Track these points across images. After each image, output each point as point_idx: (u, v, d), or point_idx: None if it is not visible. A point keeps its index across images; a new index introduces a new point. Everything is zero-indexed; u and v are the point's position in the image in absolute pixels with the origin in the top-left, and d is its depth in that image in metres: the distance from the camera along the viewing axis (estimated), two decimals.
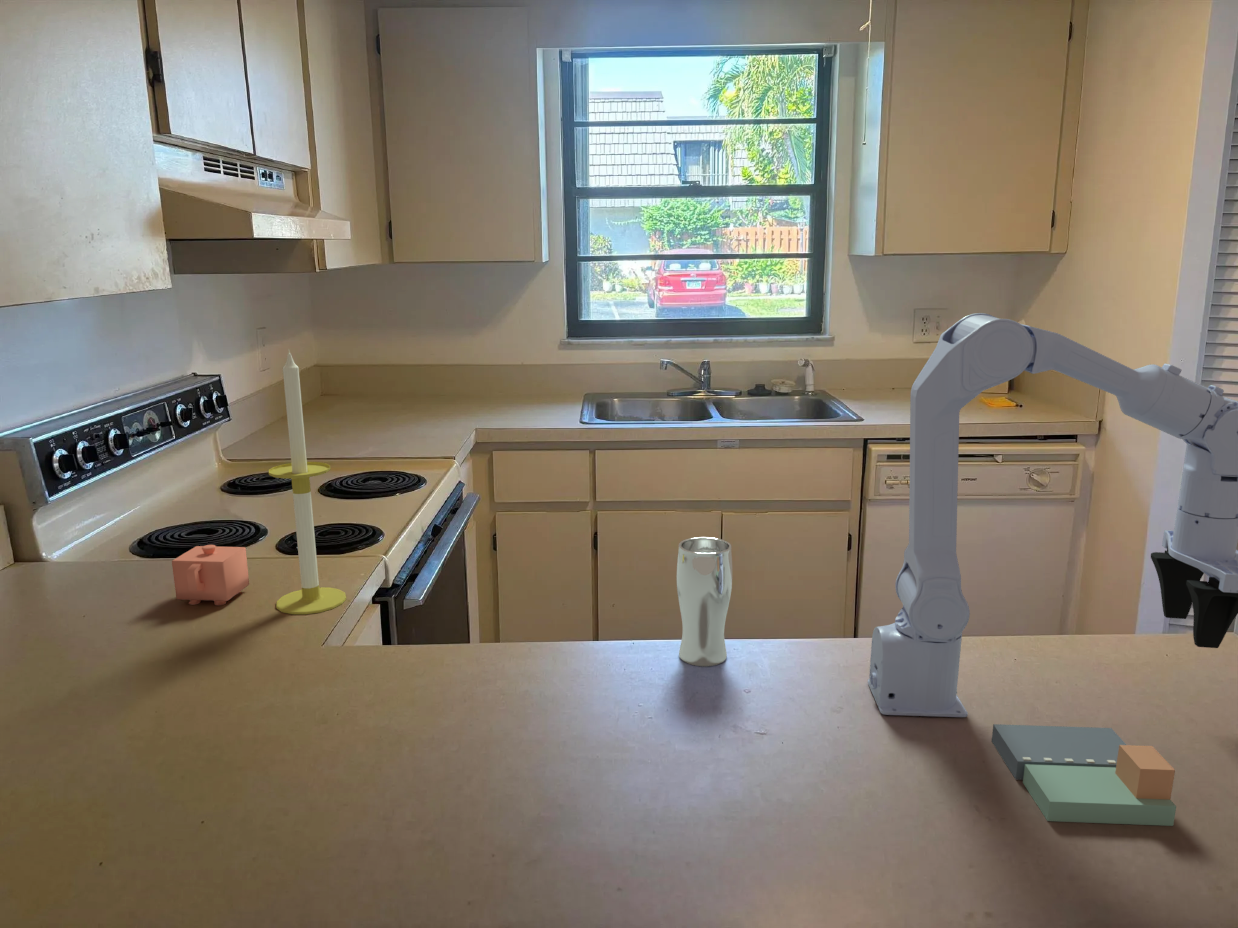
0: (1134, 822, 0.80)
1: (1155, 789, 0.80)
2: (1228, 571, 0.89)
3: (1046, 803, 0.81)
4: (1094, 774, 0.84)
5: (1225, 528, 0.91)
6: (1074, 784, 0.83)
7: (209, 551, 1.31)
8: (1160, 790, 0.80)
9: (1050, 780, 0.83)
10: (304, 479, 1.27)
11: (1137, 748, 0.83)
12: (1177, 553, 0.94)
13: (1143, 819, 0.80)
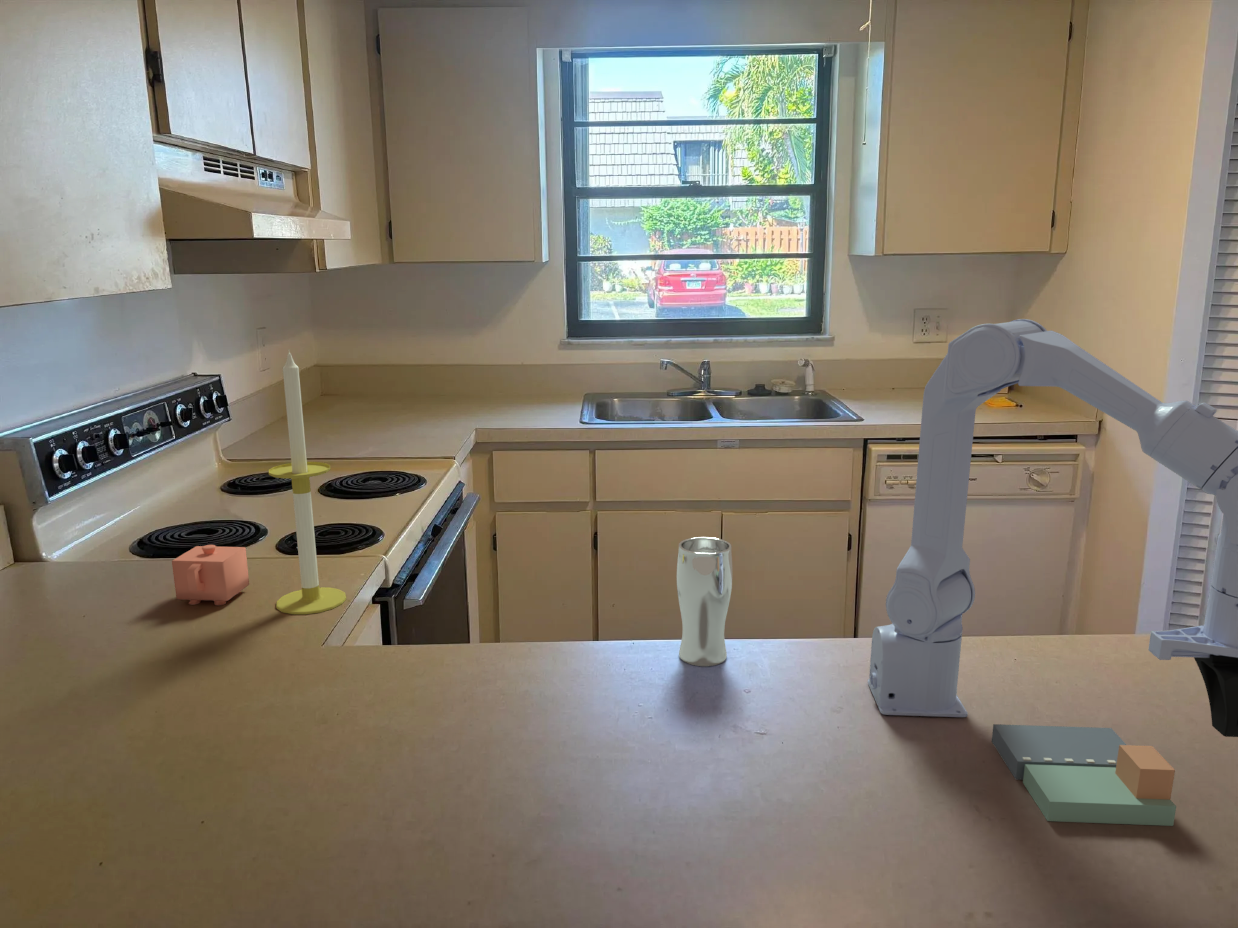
0: (1134, 822, 0.80)
1: (1155, 789, 0.80)
2: (1169, 636, 0.79)
3: (1046, 803, 0.81)
4: (1094, 774, 0.84)
5: (1217, 602, 0.77)
6: (1074, 784, 0.83)
7: (209, 551, 1.31)
8: (1160, 790, 0.80)
9: (1050, 780, 0.83)
10: (304, 479, 1.27)
11: (1137, 748, 0.83)
12: None
13: (1143, 819, 0.80)
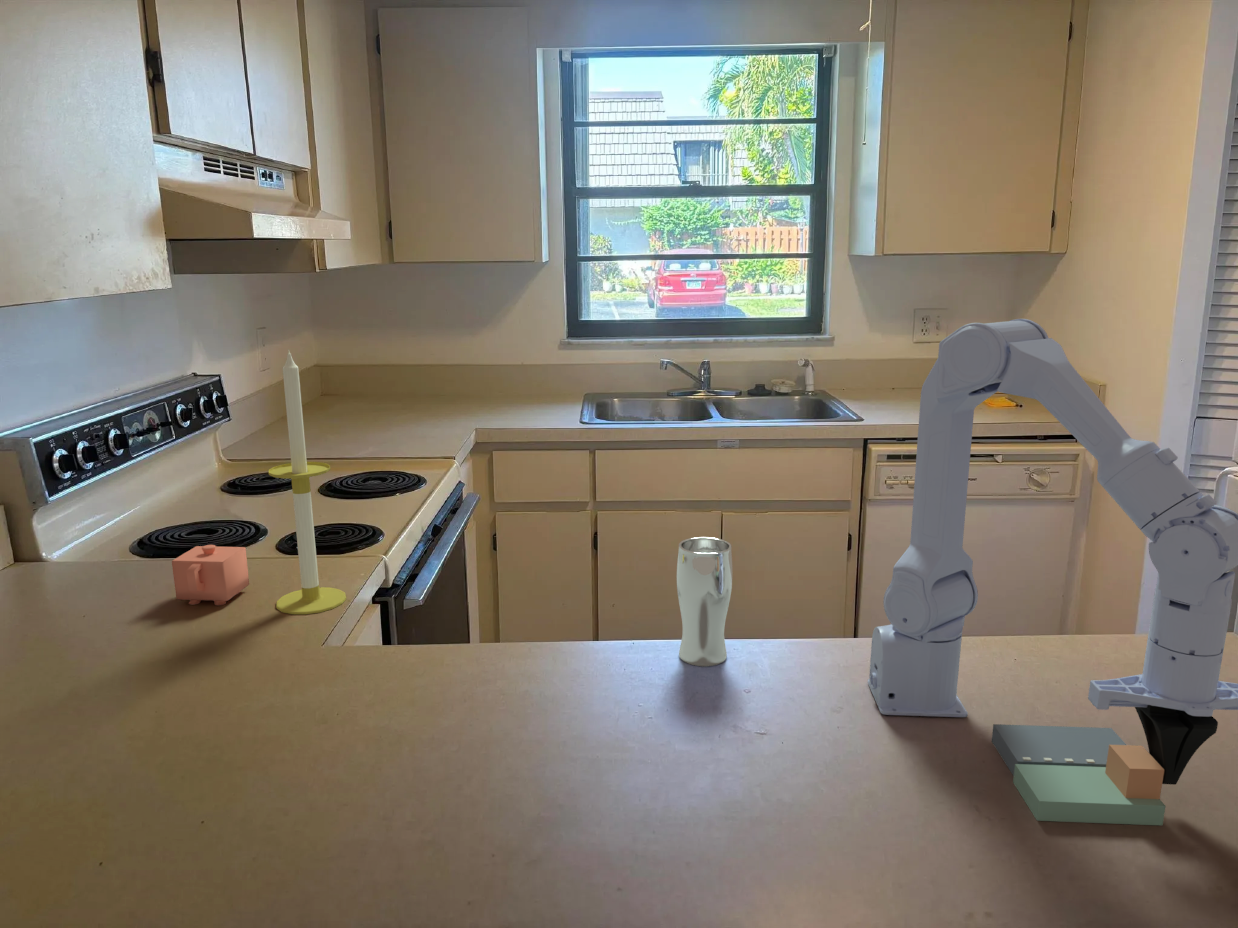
0: (1123, 822, 0.80)
1: (1144, 789, 0.80)
2: (1108, 686, 0.81)
3: (1035, 803, 0.81)
4: (1084, 774, 0.84)
5: (1153, 654, 0.79)
6: (1064, 784, 0.83)
7: (209, 551, 1.31)
8: (1149, 790, 0.80)
9: (1040, 779, 0.83)
10: (304, 479, 1.27)
11: (1127, 748, 0.83)
12: None
13: (1132, 819, 0.80)
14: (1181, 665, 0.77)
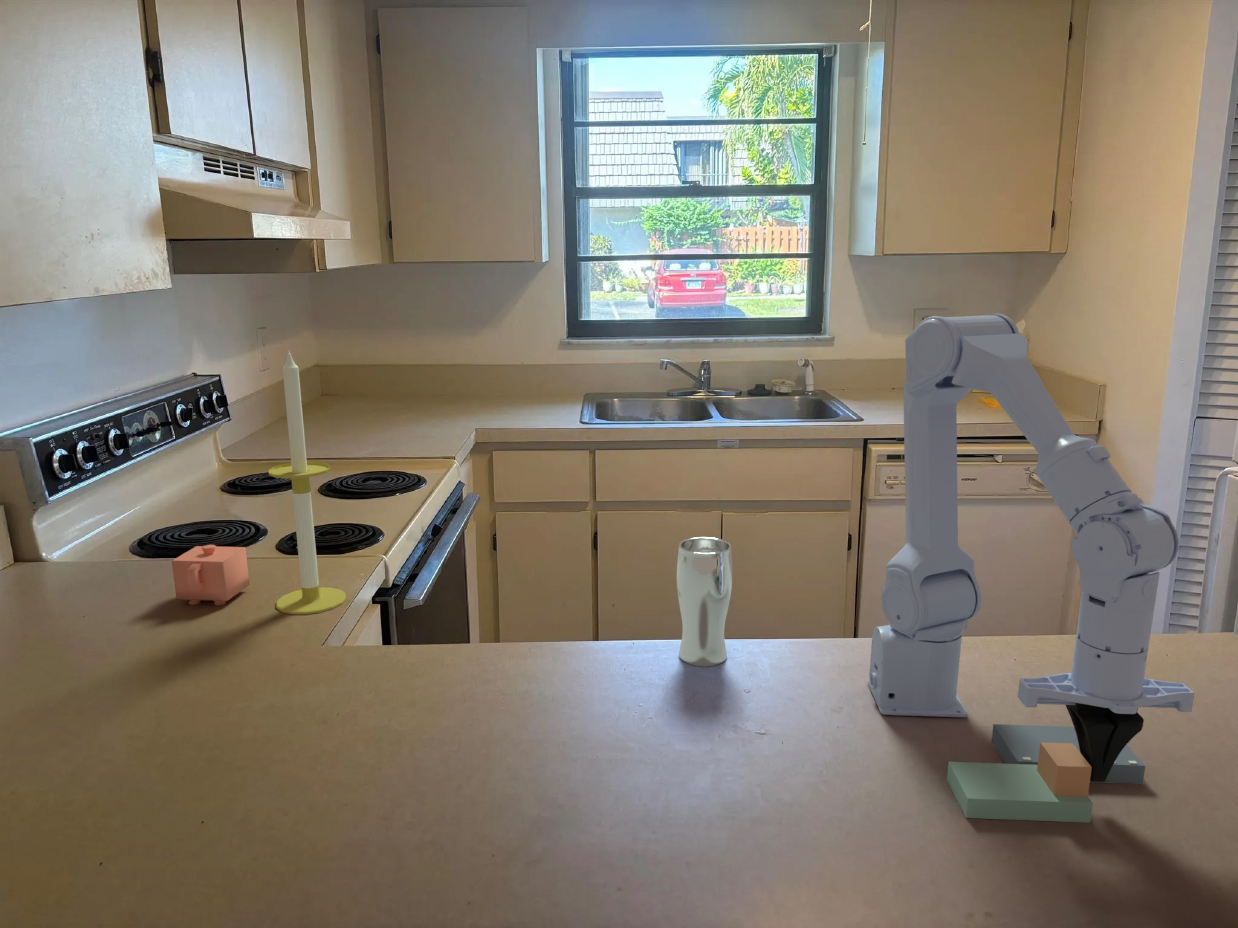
0: (1051, 819, 0.81)
1: (1072, 786, 0.81)
2: (1036, 683, 0.81)
3: (965, 800, 0.81)
4: (1016, 771, 0.85)
5: (1080, 652, 0.79)
6: (994, 781, 0.83)
7: (209, 551, 1.31)
8: (1077, 787, 0.81)
9: (971, 777, 0.84)
10: (304, 479, 1.27)
11: (1057, 745, 0.84)
12: None
13: (1060, 816, 0.80)
14: (1106, 662, 0.77)
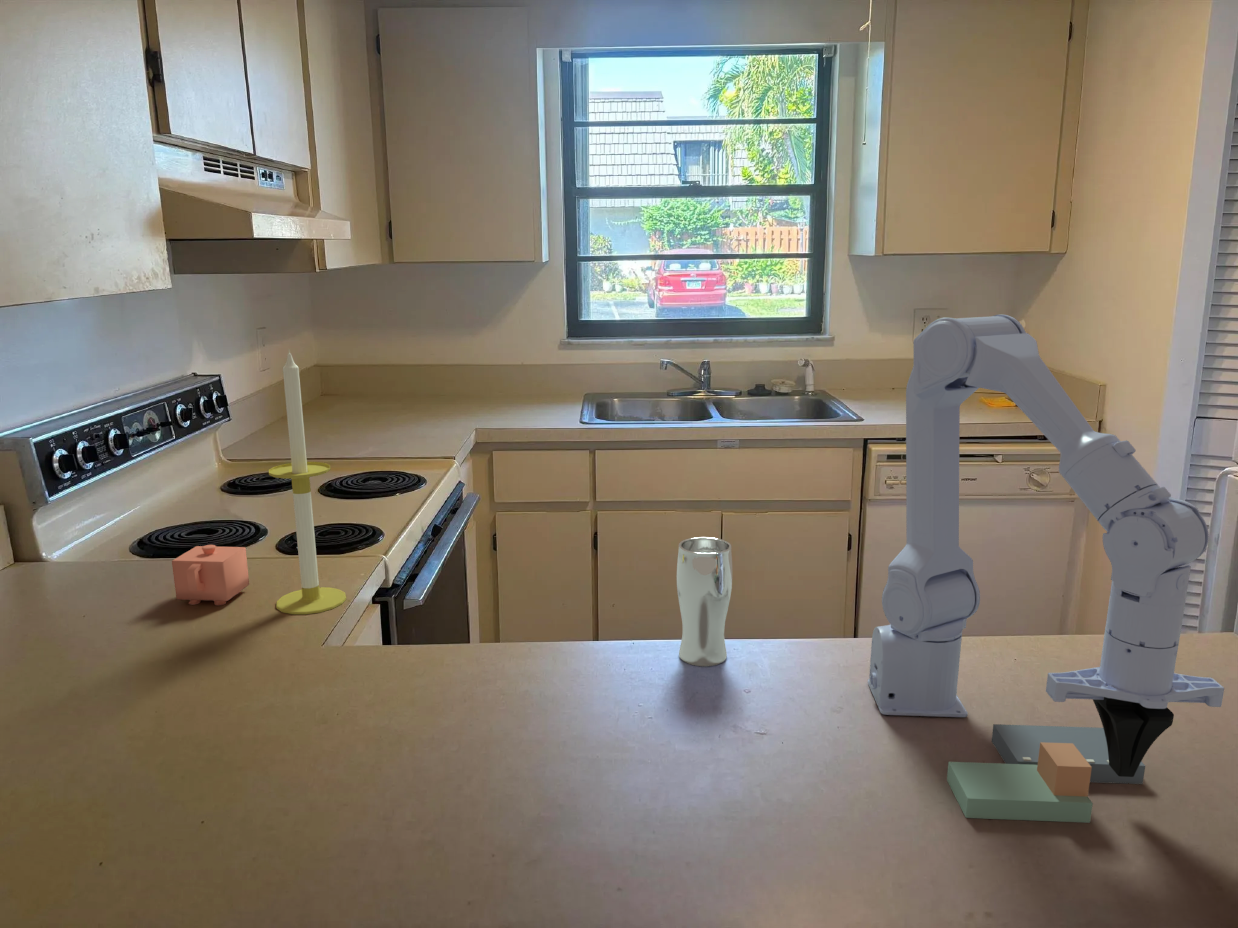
0: (1051, 819, 0.81)
1: (1072, 786, 0.81)
2: (1065, 678, 0.81)
3: (965, 800, 0.81)
4: (1016, 771, 0.85)
5: (1110, 646, 0.79)
6: (994, 781, 0.83)
7: (209, 551, 1.31)
8: (1077, 787, 0.81)
9: (971, 777, 0.84)
10: (304, 479, 1.27)
11: (1057, 745, 0.84)
12: None
13: (1060, 816, 0.80)
14: (1136, 657, 0.77)
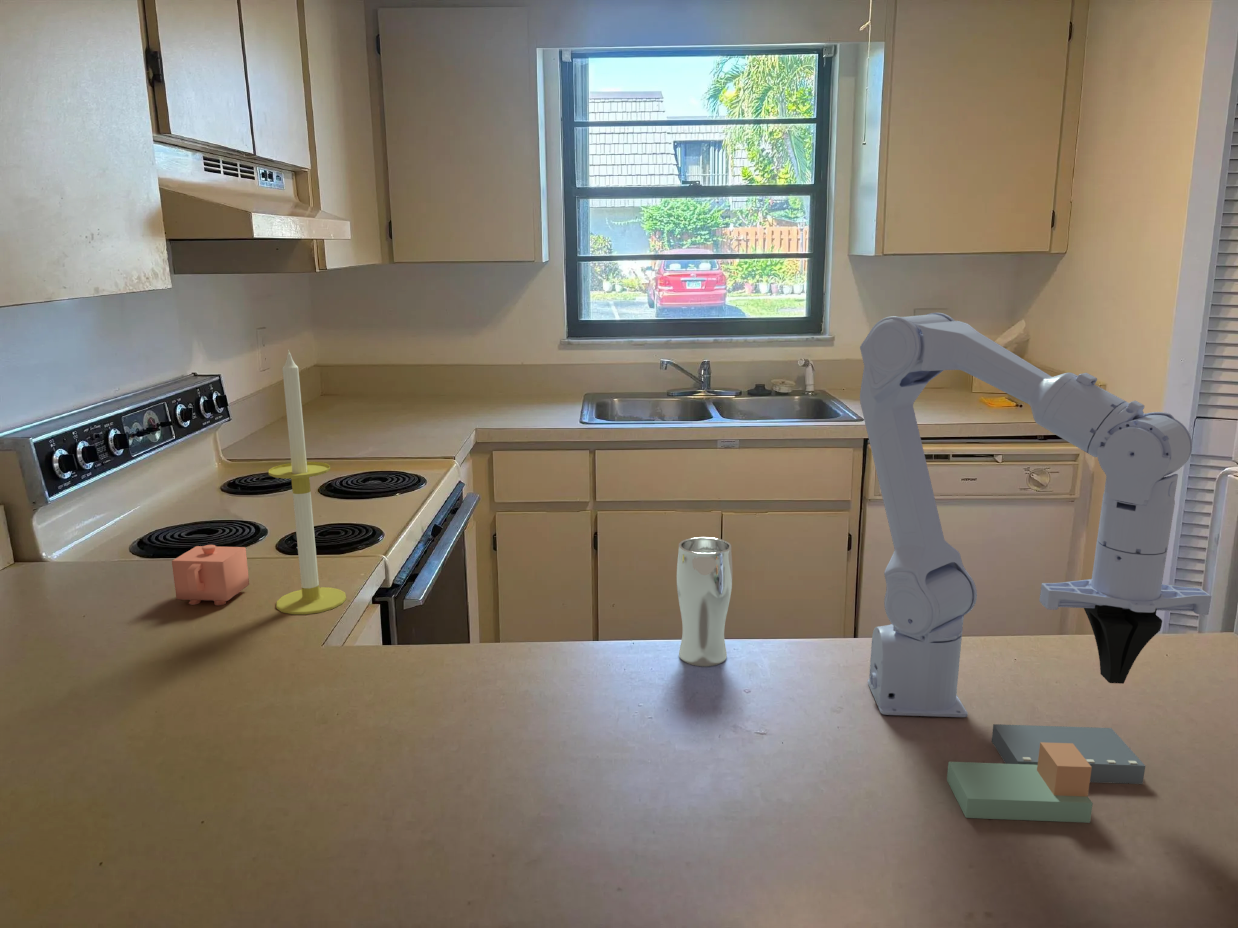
0: (1051, 819, 0.81)
1: (1072, 786, 0.81)
2: (1057, 587, 0.84)
3: (965, 800, 0.81)
4: (1016, 771, 0.85)
5: (1101, 555, 0.82)
6: (994, 781, 0.83)
7: (209, 551, 1.31)
8: (1077, 787, 0.81)
9: (971, 777, 0.84)
10: (304, 479, 1.27)
11: (1057, 745, 0.84)
12: None
13: (1060, 816, 0.80)
14: (1126, 564, 0.80)
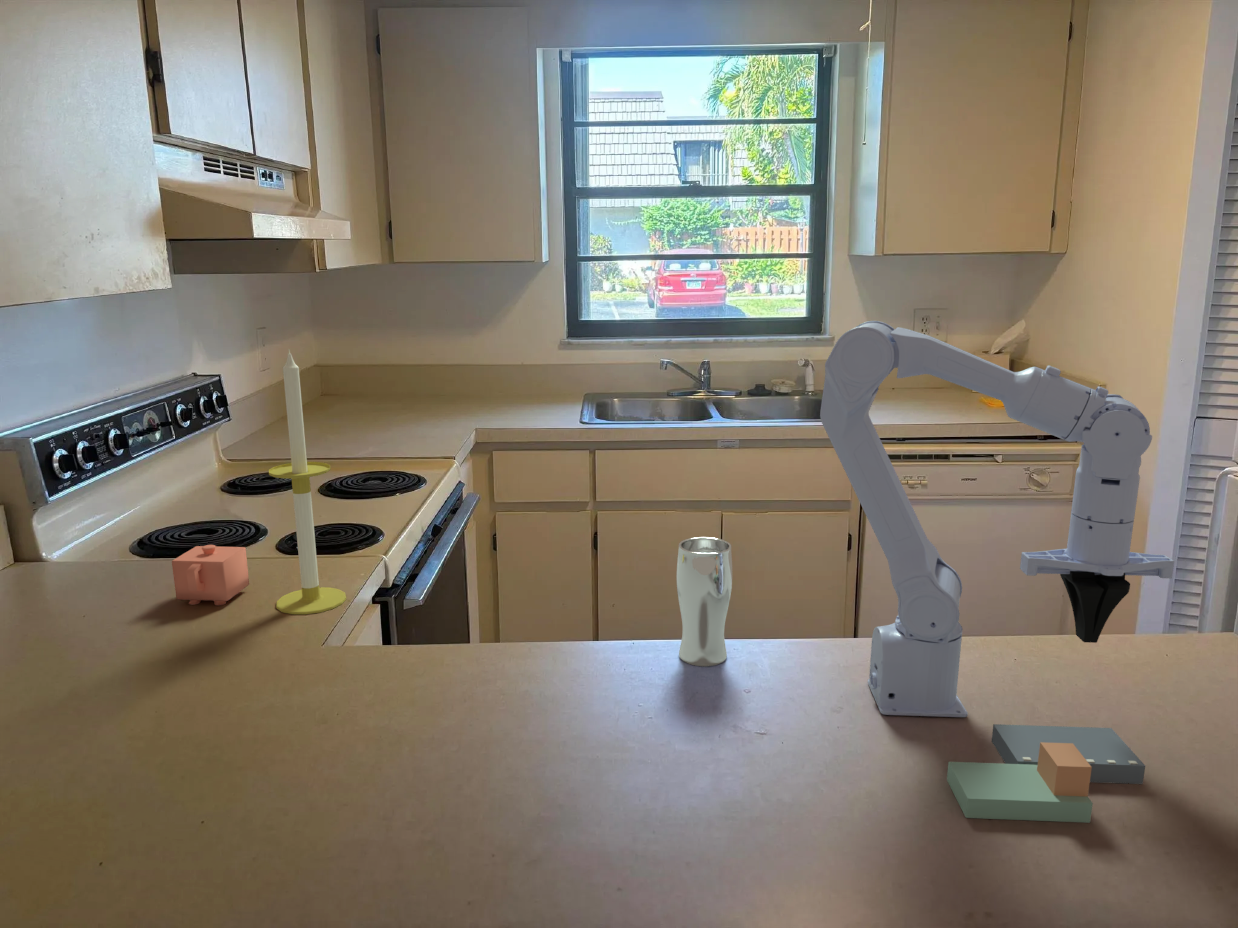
0: (1051, 819, 0.81)
1: (1072, 786, 0.81)
2: (1036, 556, 0.93)
3: (965, 800, 0.81)
4: (1016, 771, 0.85)
5: (1075, 525, 0.91)
6: (994, 781, 0.83)
7: (209, 551, 1.31)
8: (1077, 787, 0.81)
9: (971, 777, 0.84)
10: (304, 479, 1.27)
11: (1057, 745, 0.84)
12: None
13: (1060, 816, 0.80)
14: (1097, 532, 0.89)
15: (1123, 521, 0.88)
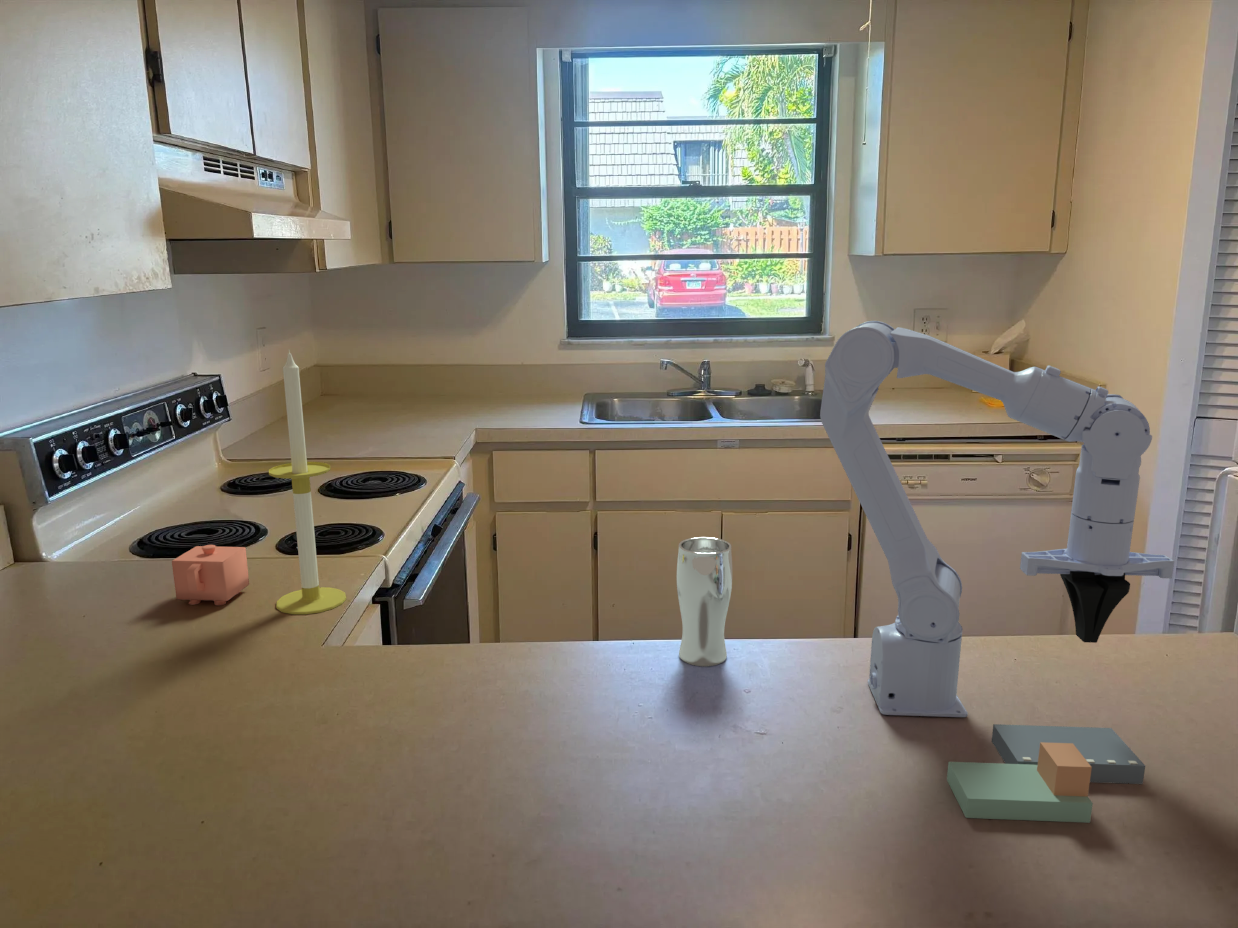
0: (1051, 819, 0.81)
1: (1072, 786, 0.81)
2: (1036, 556, 0.93)
3: (965, 800, 0.81)
4: (1016, 771, 0.85)
5: (1075, 525, 0.91)
6: (994, 781, 0.83)
7: (209, 551, 1.31)
8: (1077, 787, 0.81)
9: (971, 777, 0.84)
10: (304, 479, 1.27)
11: (1057, 745, 0.84)
12: None
13: (1060, 816, 0.80)
14: (1097, 532, 0.89)
15: (1123, 521, 0.88)
